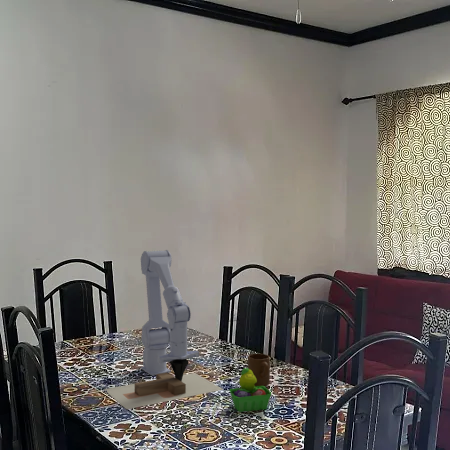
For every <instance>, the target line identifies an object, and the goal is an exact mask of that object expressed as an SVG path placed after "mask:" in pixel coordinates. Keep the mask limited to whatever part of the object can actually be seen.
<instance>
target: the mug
mask: <svg viewBox="0 0 450 450" xmlns="http://www.w3.org/2000/svg"><path fill="white" fill-rule="evenodd" d="M270 359H271V358H270V355H269V354H265V353H251V354H249V355H248V356H247V368H248V369H250V370H251V371H252V372H253V374H254V376H255V377H256V380H257V382H256V383H255V384H254V386H264V387H267V386H268V385H270V383H271V377H270V376H271V361H270Z"/></svg>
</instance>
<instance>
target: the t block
mask: <svg viewBox="0 0 450 450" xmlns="http://www.w3.org/2000/svg"><path fill="white" fill-rule="evenodd" d="M155 377H156V378H155V379H151V380H148V381H147V380H146V381H140V382H135V383H134V384H135V393H136V394H137V395H138V396H144V395H149V394H154V393H159V392H164V391H169V392H170V393H172V394H173V395H180V394H185V393H186V384H185V383H183V382H181V381H180V380H178V379H177V378H175V376H173V375H172V374H170V373H169V372H167V373H161V374H155Z"/></svg>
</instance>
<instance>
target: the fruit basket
mask: <svg viewBox="0 0 450 450" xmlns="http://www.w3.org/2000/svg"><path fill="white" fill-rule="evenodd" d="M256 382H257V380H256V377H255V376H254V374H253V372H252V371H251V370H250V369H248V367H245V368H243V369H242V370H241V374H240V376H239V379H238V383H239V386H240V387H235V388H230V389H229V393H230V395H231V400H232V403H233V407H234V408H235V409H236V411H237V412H238V413H244V412H251V411H260V410H261V411H262V410H263V411H264V410H267V409H268V406H269V402H270V398H271V397H272V392H271V391H270V390H269V389H268V388H267V386H254V384H255V383H256Z"/></svg>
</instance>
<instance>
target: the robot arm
mask: <svg viewBox="0 0 450 450" xmlns="http://www.w3.org/2000/svg"><path fill="white" fill-rule="evenodd" d="M172 258H173V257H172V253H171V252H170V251H169V250H168V249H165V250H152V251H150V250H149V251H147V250H144V251H143V252H142V254H141V257H140V267H141V269H140V270H141V274H142V275H144V276H145V283H146V297H147V309H148V310H147V311H148V321H147V322H146V323H144V324H143V326H142V327H141V338H140V340H141V343H142V345H143V347H144V349H143V352H142V366H141V367H140V369H141V370H142V371H144V372H145V373H147V374H148V375H150V376H156V374H161V373H171V372H173V374H174V377H175V378H177V379H178V380H180V381H181V382H182V377H183V375H185V374H184V373H185V370H186V369H187V367H188V366H189V360H188V359H192V358H195V359H196V358H197V359H198V358H199V357H200V351H199V350H188V322H190V320H191V314H192V313H191V309H190V306H189V305H188V304H187V303H186V301H184V299H183V297H182V294H181V292H180V288H179V287H177V286H175V283H174V279H173V276H172V272H171V266H172V262H173V261H172ZM160 282H161V283H160ZM161 285H162V288H163V289H164V290H163V291H162V293H161ZM162 296H163V299H164V302H165V304H166V308H167V311H166V318H167V321H165V320H164V319H163V310H162V309H163V307H162ZM167 348H169V350H170V351H169V352H170V353H167ZM167 363H169V365H170V366H171V369H172V371H171V369H169V368H168V367H167Z"/></svg>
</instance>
